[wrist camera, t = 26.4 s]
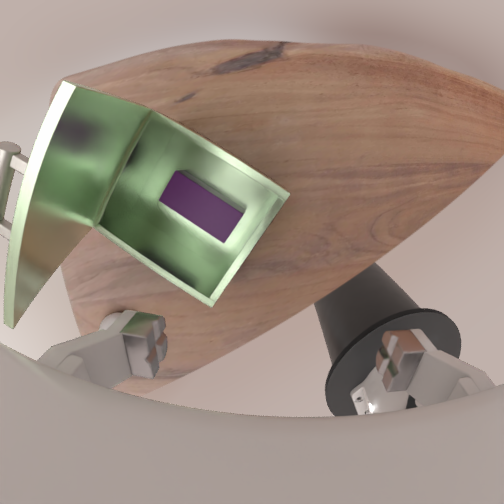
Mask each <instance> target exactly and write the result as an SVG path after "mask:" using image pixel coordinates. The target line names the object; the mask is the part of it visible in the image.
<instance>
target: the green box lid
mask: <svg viewBox="0 0 504 504" xmlns="http://www.w3.org/2000/svg"><path fill="white" fill-rule="evenodd" d="M149 111H150V108H148V107H146V106H144V105H142V104H139V103H136V102H133V101H130V100H128V99H125V98H122V97H119V96H116V95H113V94H110V93H107V92H103V91H100V90H97V89H94V88H90V87H87V86H84V85H80V84H77V83H73V82H69V81H66V80H63V81H62V83H61V85H60V87H59V89H58V91H57V93H56V95H55V97H54V99H53V101H52V103H51V105H50V107H49V110H48V112H47V114H46V116H45V119H44V121H43V123H42V126H41V128H40V131H39V133H38V136H37V138H36V141H35V143H34V146H33V149H32V152H31V155H30V158H27V157H26V156H24V155H22V154H21V153H20V152H21V148H20V146H18V145H17V144H15V143H12V142H5V141H4V142H0V235H1V236H3V237H4V238H6V239H7V240H9V246H8V254H7V262H6V273H5V288H4V324H6V325H7V326H9V327H10V328H12V329H14V327H15V326H16V324H17V323H18V321H19V320H20V318H21V317H22V315H23V314H24V312H25V311H26V309H27V308H28V307H29V305H30V304H31V302H32V301H33V300H34V298H35V297H36V295H37V294H38V292H39V291H40V290H41V288H42V287H43V286H44V285H45V283H46V282H47V281H48V279H49V278H50V277H51V276H52V274H53V273H54V272H55V271H56V269H57V268H58V267H59V266H60V264H61V263H62V262H63V261H64V260H65V258H66V257H67V256H68V255H69V254H70V252H71V251H72V250H73V249H74V248H75V247H76V246H77V244H78V243H79V242H80V241H81V240H82V239H83V238H84V237H85V235H86V234H87V233H88V232H89V231H90V230H91V229H92V227H93V224H94V221H95V219H96V216H97V214H98V211H99V209H100V207H101V204H102V202H103V200H104V197H105V195H106V193H107V190H108V188H109V186H110V184H111V182H112V179H113V177H114V175H115V173H116V171H117V169H118V167H119V165H120V163H121V161H122V159H123V157H124V155H125V153H126V151H127V149H128V147H129V145H130V144H131V142H132V140H133V138H134V136H135V134H136V133H137V131H138V129H139V127H140V126H141V124H142V122H143V121H144V119H145V117H146V115H147V114H148V112H149ZM15 170H16V171H18V172H19V173H21V174H23V175H24V177H23V181H22V184H21V187H20V191H19V195H18V199H17V203H16V208H15V213H14V217H13V222H12V224H11V223H10V222H8V221H7V220H5V219H4V215H5V209H6V204H7V200H8V195H9V191H10V187H11V183H12V179H13V176H14V172H15Z"/></svg>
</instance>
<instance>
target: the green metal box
mask: <svg viewBox="0 0 504 504" xmlns="http://www.w3.org/2000/svg"><path fill="white" fill-rule="evenodd" d="M176 170H184V171H186V172H188V173H189V174H191V175H192V176H194V177H195V178H197V179H199V180H200V181H202V182H203V183H205V184H206V185H208V186H209V187H211V188H213V189H214V190H216V191H217V192H219V193H220V194H222V195H223V196H225V197H226V198H228V199H229V200H231V201H232V202H234V203H235V204H237V205H239V206H240V207H242V208H243V209H245V210H246V211H245V213H244V215H243V216H242V218H241V219H240V221H239V222H238V224H237V225H236V227H235V228H234V230H233V231H232V233H231V234H230V236H229V237H228V239H227V240H226V242H225V243H222V242H221V241H219V240H217V239H216V238H214V237H213V236H211V235H210V234H208V233H207V232H205V231H204V230H202V229H201V228H199V227H198V226H196V225H195V224H193V223H192V222H190V221H189V220H187V219H186V218H184V217H183V216H181V215H180V214H178V213H177V212H175V211H174V210H172V209H170V208H169V207H167V206H166V205H164V204H163V203H161V202H160V201H159V198H160V197H161V195H162V193H163V191H164V189H165V188H166V186H167V184H168V182H169V181H170V179H171V177H172V176H173V174H174V172H175V171H176ZM289 196H290V193H289V192H288V191H287V189H286V188H285V187H283V186H282V185H280V184H279V183H278V182H276V181H275V180H273V179H272V178H270V177H269V176H267V175H265V174H264V173H262V172H261V171H259V170H258V169H256V168H255V167H253V166H252V165H250V164H249V163H247V162H245V161H244V160H242V159H241V158H239V157H237V156H236V155H234V154H233V153H231V152H229V151H228V150H226V149H224V148H223V147H221V146H220V145H218V144H216V143H215V142H213V141H211V140H210V139H208V138H206V137H204V136H203V135H201V134H199V133H198V132H196V131H194V130H192V129H191V128H189V127H187V126H185V125H184V124H182V123H180V122H178V121H176V120H174V119H172V118H170V117H168V116H166V115H164V114H161V113H159V112H157V111H155V110H153V109H151V108H150V111H149V112H148V114H147V115H146V117H145V119H144V121H143V122H142V124H141V126H140V127H139V129H138V131H137V133H136V134H135V136H134V138H133V140H132V142H131V144H130V145H129V147H128V149H127V151H126V153H125V155H124V157H123V159H122V161H121V163H120V165H119V167H118V169H117V171H116V173H115V175H114V177H113V179H112V182H111V184H110V186H109V188H108V190H107V193H106V195H105V197H104V200H103V202H102V204H101V207H100V209H99V211H98V214H97V216H96V219H95V221H94V224H93V228H94V229H96V230H97V231H98V232H100V233H101V234H102V235H104V236H105V237H106V238H108V239H109V240H111V241H112V242H113V243H115V244H116V245H117V246H119V247H120V248H122V249H123V250H124V251H126V252H127V253H129V254H130V255H132V256H133V257H134V258H136V259H137V260H139V261H140V262H142V263H143V264H145V265H146V266H147V267H149V268H150V269H152V270H153V271H155V272H156V273H158V274H159V275H161V276H162V277H164V278H165V279H167V280H168V281H170V282H171V283H173V284H174V285H176V286H178V287H179V288H181V289H182V290H184V291H185V292H187V293H188V294H190V295H192V296H193V297H195V298H196V299H198V300H200V301H201V302H203V303H204V304H206V305H208V306H209V307H211V308H212V307H213V306H214V304H215V303H216V301H217V300H218V298H219V297H220V295H221V294H222V293H223V291H224V290H225V288H226V287H227V285H228V284H229V282H230V281H231V279H232V278H233V277H234V275H235V274H236V272H237V271H238V269H239V268H240V266H241V265H242V264H243V262H244V261H245V259H246V258H247V256H248V255H249V253H250V252H251V251H252V249H253V248H254V246H255V245H256V243H257V242H258V240H259V239H260V238H261V236H262V235H263V233H264V232H265V230H266V229H267V228H268V226H269V225H270V223H271V222H272V220H273V219H274V217H275V216H276V215H277V213H278V212H279V210H280V209H281V207H282V206H283V204H284V203H285V201H286V200H287V199H288V197H289Z"/></svg>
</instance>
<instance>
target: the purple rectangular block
mask: <svg viewBox="0 0 504 504" xmlns="http://www.w3.org/2000/svg"><path fill="white" fill-rule="evenodd" d="M159 201H160V202H161V203H163V204H164V205H166V206H167V207H169V208H170V209H172V210H174V211H175V212H177V213H178V214H180V215H181V216H183V217H184V218H186V219H187V220H189V221H190V222H192V223H193V224H195V225H196V226H198V227H199V228H201V229H202V230H204V231H205V232H207V233H208V234H210V235H211V236H213V237H214V238H216V239H217V240H219V241H221V242H222V243H225V242H226V240H227V239H228V237H229V236H230V234H231V233H232V231H233V230H234V228H235V227H236V225H237V224H238V222H239V221H240V219H241V218H242V216H243V215H244V213H245V211H246V210H245V209H243V208H242V207H240V206H239V205H237V204H235V203H234V202H232V201H231V200H229V199H228V198H226V197H225V196H223V195H222V194H220V193H219V192H217V191H216V190H214V189H213V188H211V187H209V186H208V185H206V184H205V183H203V182H202V181H200V180H199V179H197V178H195V177H194V176H192V175H191V174H189V173H188V172H186V171H184V170H176V171H175V172H174V174H173V176H172V177H171V179H170V181H169V182H168V184H167V186H166V188H165V189H164V191H163V193H162V195H161V197H160V198H159Z"/></svg>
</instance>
